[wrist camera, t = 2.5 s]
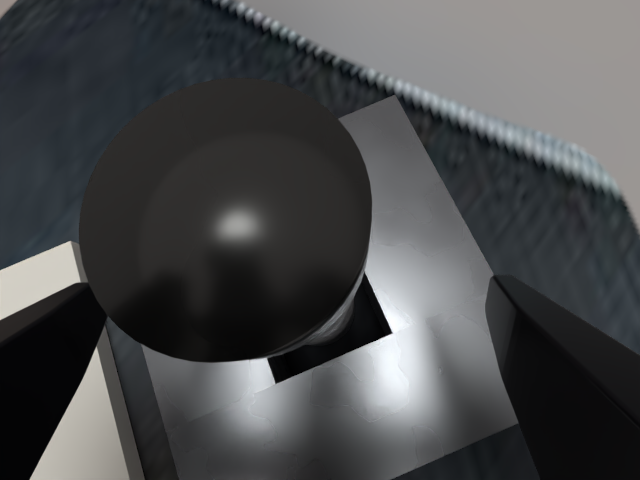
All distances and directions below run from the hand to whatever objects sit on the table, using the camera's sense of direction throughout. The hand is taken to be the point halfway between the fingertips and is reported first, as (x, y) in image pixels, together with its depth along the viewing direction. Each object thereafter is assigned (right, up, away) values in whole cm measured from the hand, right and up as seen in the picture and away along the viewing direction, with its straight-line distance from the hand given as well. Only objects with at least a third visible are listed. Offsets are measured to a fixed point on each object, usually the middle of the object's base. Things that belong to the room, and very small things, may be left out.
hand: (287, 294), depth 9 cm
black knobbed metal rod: (+1, -2, +8) cm, 8 cm away
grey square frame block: (+1, -2, +8) cm, 8 cm away
